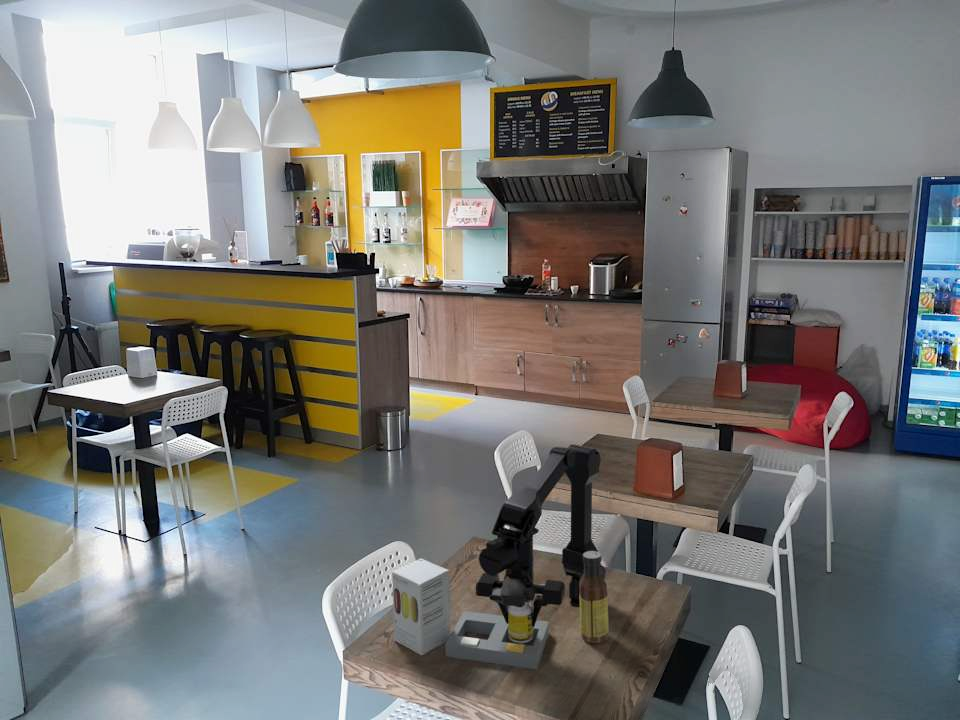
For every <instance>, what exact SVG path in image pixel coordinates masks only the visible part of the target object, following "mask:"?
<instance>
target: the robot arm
mask: <svg viewBox="0 0 960 720" xmlns="http://www.w3.org/2000/svg"><path fill="white" fill-rule="evenodd" d="M601 459H602V458H601V454H600V451H598V450H597V449H596V448H594V447H588V446H583V445H578V444H573V443H572V444H570V445H569V446H568V447H562V446H555V447H552V448H551V449H550V451H549V454H548V456H547V458H546V459H545V461H544V462H543V464H542V465H541V466H540V467H539V469H538V470H537V472H535V474H534V475H533V477H532V478H531V479H530V480H529V482H528V483H527V485H526V486H525V487H524V488H523V489H520V490H519V491H517V492H515V493H513V494H511V496H509V498H507V500H505V502H504V503H503V504H502V506H501V508H500V510H499V513H498V515H497V519H496V521H495V524H494V526H493V529H492V531H491V534H492V535H494V536H497V537H496V538H494V539H492V540H489V541H487V542H486V545H485V546H486V547H485V548H483V549H482V550H481V551H480V553H479V556H478V562H479V566H480V568H481V569H482V571H483V573H482V574H480V576H479V578H478V580H477V582H476V583H475V596H477V597H487V598H489V600H490V601H494V602H495V603H496V604H497V605H498V607H499V609H500V611H501V614H502V616H504V619H505V621H506V623H507V624H508V607H509V606H516V607H523V606H524V605H525V602H529V603H530V601H531V602H533V604H532V607H533V618H532V627H534V626H535V623H536V620H538V618H539V617H538V616H539V613H540V611H541V609H542V608H543V607H547V606H548V605H556V606H560V605H562V603H563V601H564V596H565V594H566V585H565V583H564V582H563V581H561V580H554V579H553V580H552V579H546V581H545V583H539V584H534V577H535V576H534V575H535V574H534V535H536V534H538V533H539V529H538V528H536V526H537V524H538V522H539V521H540V518H541V517H542V515H543V514H542V513H543V511H542V509H543V504H544V502H545V501H546V499H547V498H548V496H549V495H550V494H551V492H552V491H553V489H554V488H555V487H556V486H557V484H558V483H559V482H560V480H561V478H562V477H563V476H564V475H566V477H567V478H568V480H569V483H570V541H568V543H567V545H566V546H565V547H563V548H562V550H561V555H562V560H561V564H562V566H563V570H564V574H565V576H567V577H571V578H570V581H569V590H568V591H569V593H568V595H569V596H568V597H569V599H570V602H569V604H570V606H571V605H573V606H579V607H580V600H579V593H580V588H579V581H580V579H581V577H582V575H583V574H584V561H583V554H584V553H585V552H587V551H596V552H599V551H598V549H597V547H596V545H595V543H594V541H593V540H592V528H593V527H592V526H593V525H592V520H593V519H592V518H593V515H592V510H593V509H592V508H593V507H592V506H593V505H592V503H593V502H592V501H593V498H592V497H593V482H594V480H595V479H596V477H597V476H598V474H599V473H600V467H601ZM505 526H507V527H510V528H513V529H509V528H506V527H505ZM504 571H505V574H504V577H503V580H500V575H499V574H500V573H502V572H504ZM606 573H607V569H606V567H604V566H603V565H602V564H601V574H602V576H603V578H604V579H605V578H606Z"/></svg>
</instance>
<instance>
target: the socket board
mask: <svg viewBox="0 0 960 720" xmlns="http://www.w3.org/2000/svg"><path fill="white" fill-rule="evenodd" d="M549 627H550V622H549V621H547V620H538V619H537V620H536V623H535V626H534V627H533V638H532V640H531V641H534V643H533V645H527V644H523V643H515V642H513V643H512V642H508V640H509V639H510V638H509V629H508V624H507V623H506V621H505V619H504V616H503V615H498V614H490V613H484V612H474V611H467V610H464V611H463V612H462V614H461V615H460V618H459V619H458V621H457V623H456V624H455V626H454V628H453V630H452V631H451V635H450V636H449V638H448V640H447V641H446V642H444V643H445V645H444V646H445V657H447V658H454V659H461V660H462V659H463V660H466V661H468V660H469V661H475V662H481V663H489V664H497V665H504V666H509V667H515V668H516V667H517V668H524V669H531V670H538V667H539V665H540V661H541V659H542V655H543V652H544V649H545V647H546V644H547V640H548V638H549V635H550V634H549V633H550V629H549ZM466 633H473V634H481V635H489V637H488V639H481V638H476V637H467V636H465V634H466Z"/></svg>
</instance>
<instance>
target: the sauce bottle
mask: <svg viewBox="0 0 960 720" xmlns="http://www.w3.org/2000/svg"><path fill="white" fill-rule="evenodd" d="M583 561H584V574H583V575H582V577H581V579H580V581H579V588H580V593H579V600H580V606H579V621H580V622H579V623H580V624H579V626H580V634H581V637H582V639H583V640H584V641H585V642H588V643H591V644H602V643H604V642H606V641H607V640H608V637H609V631H610V630H609V604H608V603H609V602H608V601H609V599H608V596H609V595H608V588H607V587H608V586H607V583H606V581H605V578H603V576H602V574H601V565H602V554H601V553H600V552H599V551H598V552H596V551H587V552H585V553H584V554H583Z"/></svg>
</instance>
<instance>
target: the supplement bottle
mask: <svg viewBox="0 0 960 720" xmlns="http://www.w3.org/2000/svg"><path fill="white" fill-rule="evenodd" d="M533 608H534V606H533V604H531V602H530V601H529V602H525V605H524V606H523V607H516V606H509V607H508V629H509V638H508V639H509V640H510V641H512V642H513V643H514V644H526V643H529V642H531V641H533V640H532V638H533V627H532V618H533Z"/></svg>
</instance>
